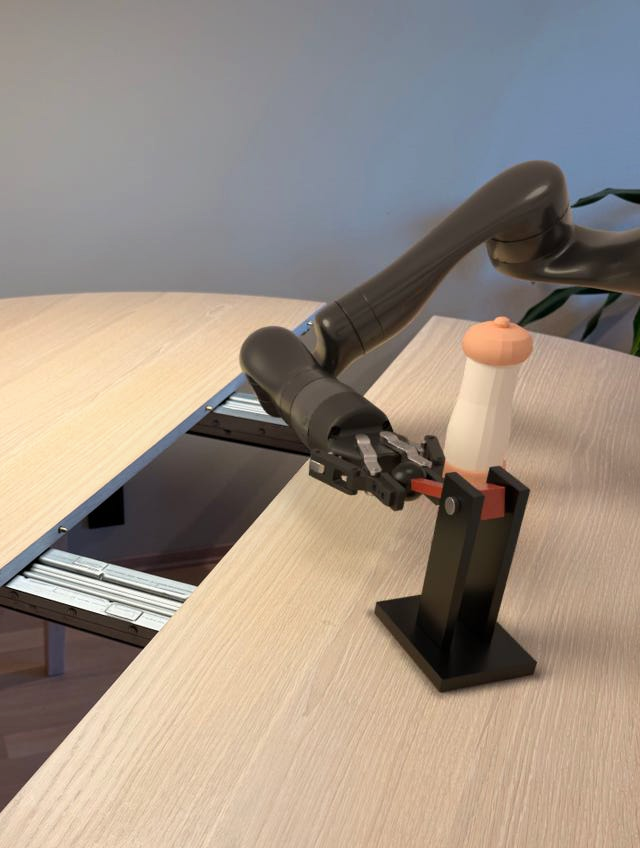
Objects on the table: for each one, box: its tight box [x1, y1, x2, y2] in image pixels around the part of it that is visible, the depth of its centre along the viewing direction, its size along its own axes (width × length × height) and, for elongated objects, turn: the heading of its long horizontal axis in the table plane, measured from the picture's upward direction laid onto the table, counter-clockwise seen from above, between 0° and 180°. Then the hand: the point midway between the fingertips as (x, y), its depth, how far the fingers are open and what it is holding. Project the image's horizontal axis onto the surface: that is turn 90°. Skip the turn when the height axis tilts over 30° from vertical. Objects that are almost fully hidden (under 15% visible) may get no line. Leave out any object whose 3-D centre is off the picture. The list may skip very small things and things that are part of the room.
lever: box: [389, 462, 505, 520], centre depth 84 cm, size 15×4×4 cm, turn 17°
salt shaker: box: [442, 316, 534, 484], centre depth 105 cm, size 7×7×19 cm
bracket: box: [373, 466, 538, 693], centre depth 82 cm, size 12×9×16 cm
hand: (421, 498), depth 87 cm, fingers closed on lever, 3 cm apart
